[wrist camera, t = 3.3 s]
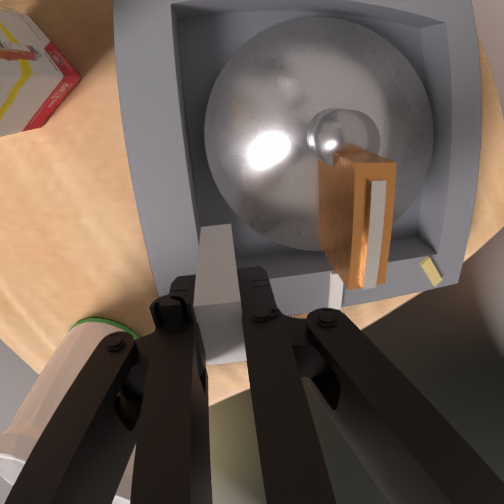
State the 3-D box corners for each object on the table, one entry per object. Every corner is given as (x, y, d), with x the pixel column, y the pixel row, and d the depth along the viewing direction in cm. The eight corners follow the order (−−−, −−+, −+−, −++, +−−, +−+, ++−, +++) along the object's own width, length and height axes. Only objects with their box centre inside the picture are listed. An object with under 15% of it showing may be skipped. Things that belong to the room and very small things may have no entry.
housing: (132, -5, 14) (111, -30, 9) (434, 5, 15) (473, -4, 11) (175, 291, 24) (168, 332, 19) (429, 257, 25) (459, 284, 21)
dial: (195, 29, 14) (182, -15, 8) (412, 37, 15) (487, 26, 8) (219, 249, 21) (222, 320, 14) (410, 227, 21) (469, 276, 15)
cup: (58, 376, 27) (19, 495, 14) (43, 283, 22) (-43, 426, 9) (166, 402, 30) (159, 534, 16) (181, 315, 25) (166, 498, 11)
